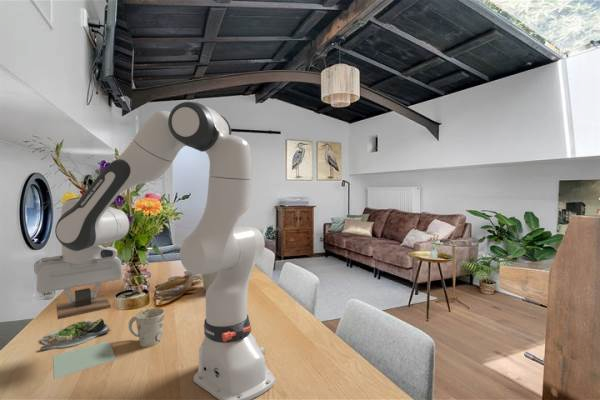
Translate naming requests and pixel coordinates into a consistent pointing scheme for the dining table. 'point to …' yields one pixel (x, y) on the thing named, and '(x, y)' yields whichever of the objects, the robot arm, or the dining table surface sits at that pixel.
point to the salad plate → (75, 334)
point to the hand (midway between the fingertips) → (83, 300)
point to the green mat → (82, 359)
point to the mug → (148, 326)
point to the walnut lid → (82, 304)
